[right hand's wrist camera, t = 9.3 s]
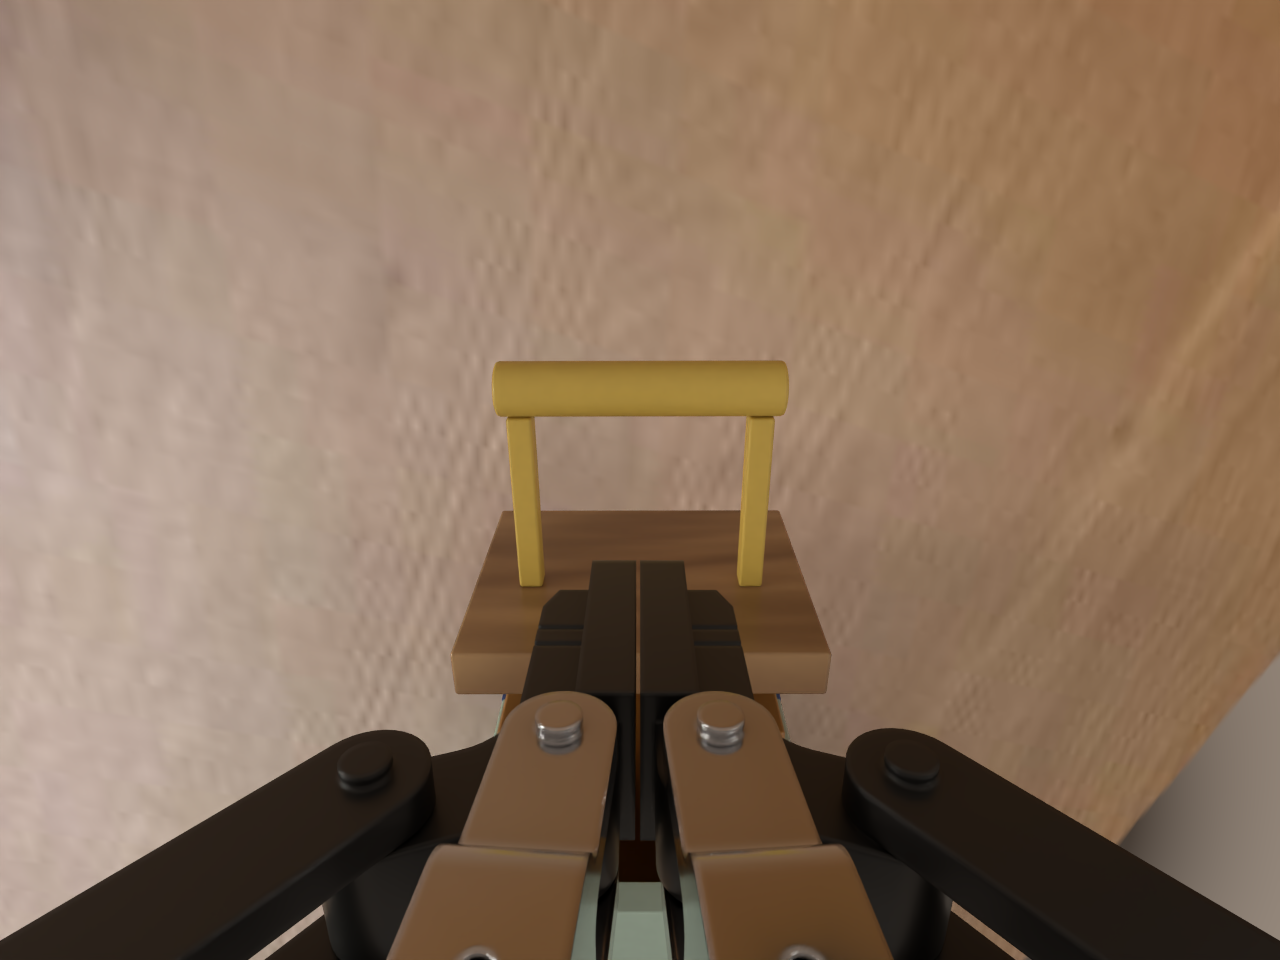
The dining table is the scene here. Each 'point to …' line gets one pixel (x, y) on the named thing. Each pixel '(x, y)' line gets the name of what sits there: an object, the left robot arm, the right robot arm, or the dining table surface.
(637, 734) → the drawer
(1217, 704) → the dining table surface
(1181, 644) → the dining table surface
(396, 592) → the dining table surface
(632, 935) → the cabinet
